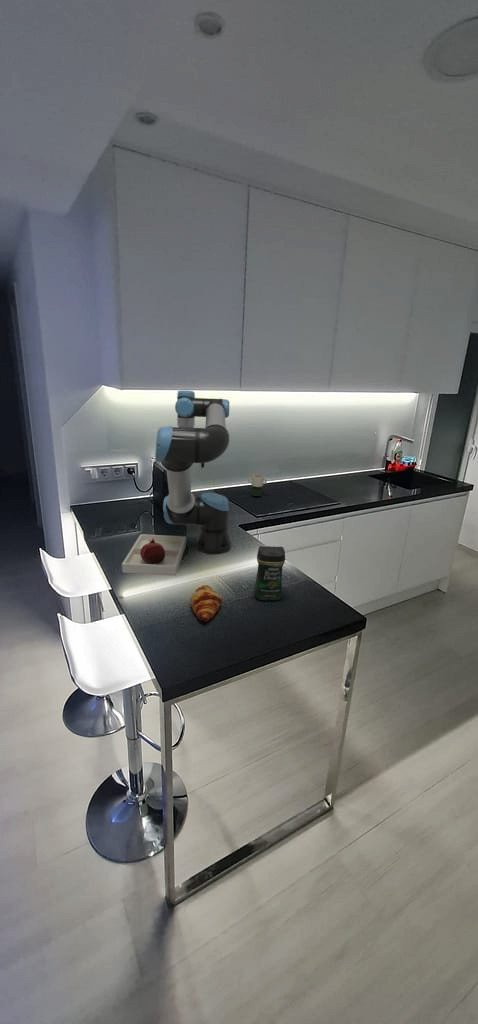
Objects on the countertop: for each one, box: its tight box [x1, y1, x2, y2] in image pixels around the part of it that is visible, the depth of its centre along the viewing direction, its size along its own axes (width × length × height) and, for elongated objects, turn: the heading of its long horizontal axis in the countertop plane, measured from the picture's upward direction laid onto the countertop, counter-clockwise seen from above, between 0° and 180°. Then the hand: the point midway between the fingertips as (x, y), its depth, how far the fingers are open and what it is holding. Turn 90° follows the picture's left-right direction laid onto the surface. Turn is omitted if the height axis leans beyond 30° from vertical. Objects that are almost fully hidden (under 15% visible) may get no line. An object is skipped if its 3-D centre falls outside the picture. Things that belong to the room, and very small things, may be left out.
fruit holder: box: [121, 533, 187, 576], centre depth 172 cm, size 20×29×4 cm
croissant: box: [190, 584, 223, 622], centre depth 139 cm, size 21×10×8 cm, turn 4°
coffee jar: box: [253, 545, 286, 602], centre depth 145 cm, size 10×8×19 cm
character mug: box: [247, 473, 268, 497], centre depth 255 cm, size 11×7×13 cm, turn 92°
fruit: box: [140, 539, 165, 565], centre depth 164 cm, size 9×10×10 cm
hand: (185, 473), depth 195 cm, fingers open, 13 cm apart
